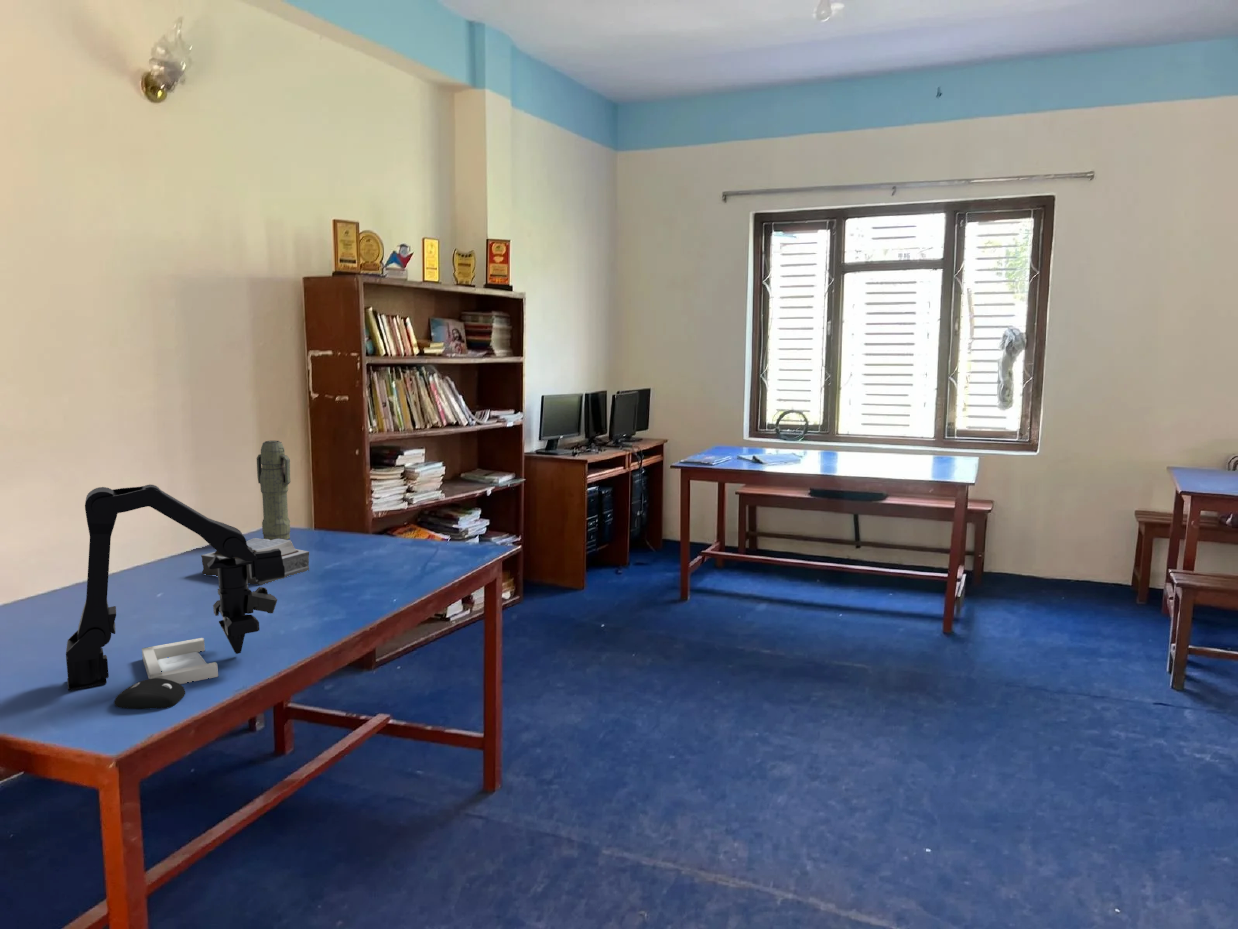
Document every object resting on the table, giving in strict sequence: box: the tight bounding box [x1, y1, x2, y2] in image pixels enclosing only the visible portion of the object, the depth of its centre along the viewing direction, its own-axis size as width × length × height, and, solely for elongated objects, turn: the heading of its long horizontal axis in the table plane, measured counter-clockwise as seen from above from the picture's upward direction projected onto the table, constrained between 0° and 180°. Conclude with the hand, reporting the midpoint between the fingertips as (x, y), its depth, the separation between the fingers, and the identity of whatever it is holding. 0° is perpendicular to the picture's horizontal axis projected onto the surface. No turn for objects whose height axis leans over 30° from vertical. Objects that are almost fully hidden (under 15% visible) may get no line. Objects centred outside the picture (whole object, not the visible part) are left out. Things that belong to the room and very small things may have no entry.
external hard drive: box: [157, 652, 208, 672], centre depth 172 cm, size 2×8×12 cm
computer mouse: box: [113, 678, 186, 710], centre depth 156 cm, size 8×12×4 cm, turn 95°
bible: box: [200, 537, 310, 586], centre depth 244 cm, size 23×27×10 cm
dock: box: [141, 637, 219, 685], centre depth 172 cm, size 12×19×2 cm, turn 35°
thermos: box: [256, 440, 291, 540], centre depth 282 cm, size 9×12×35 cm
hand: (238, 653), depth 179 cm, fingers closed
